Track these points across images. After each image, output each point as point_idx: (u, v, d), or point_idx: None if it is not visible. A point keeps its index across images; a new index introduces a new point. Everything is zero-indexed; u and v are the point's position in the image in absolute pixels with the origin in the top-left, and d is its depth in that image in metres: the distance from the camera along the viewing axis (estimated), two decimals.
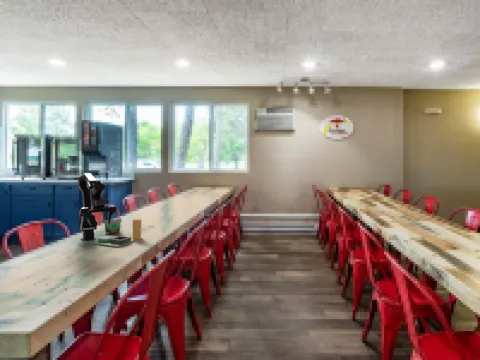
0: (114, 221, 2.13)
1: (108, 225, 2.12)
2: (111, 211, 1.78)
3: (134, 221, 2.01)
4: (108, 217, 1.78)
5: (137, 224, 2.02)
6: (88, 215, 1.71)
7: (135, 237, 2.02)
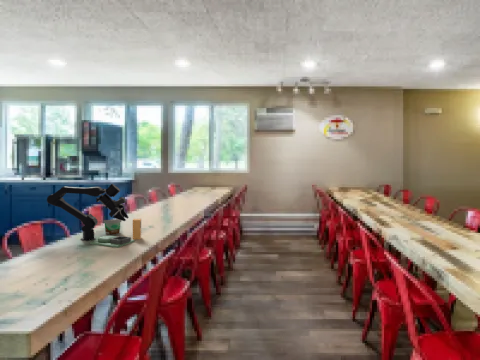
0: (114, 221, 2.13)
1: (108, 225, 2.12)
2: (124, 208, 2.08)
3: (134, 221, 2.01)
4: (123, 213, 2.07)
5: (137, 224, 2.02)
6: (120, 213, 1.96)
7: (135, 237, 2.02)
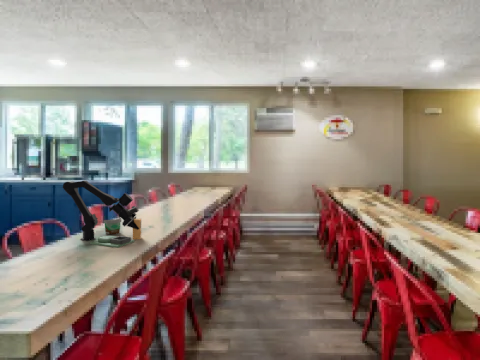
0: (114, 221, 2.13)
1: (108, 225, 2.12)
2: (135, 217, 2.07)
3: (134, 221, 2.01)
4: None
5: (137, 224, 2.02)
6: None
7: (135, 237, 2.02)
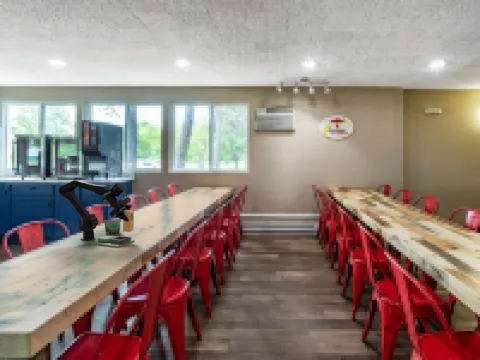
0: (114, 221, 2.13)
1: (108, 225, 2.12)
2: (129, 209, 1.99)
3: (124, 212, 1.93)
4: None
5: (128, 216, 1.93)
6: (123, 213, 1.92)
7: (125, 229, 1.94)
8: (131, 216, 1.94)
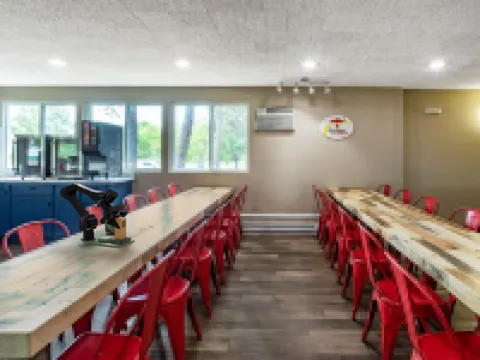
0: None
1: (108, 225, 2.12)
2: (123, 215, 1.94)
3: (116, 219, 1.89)
4: None
5: (119, 223, 1.88)
6: (114, 220, 1.87)
7: (117, 237, 1.89)
8: (122, 223, 1.89)
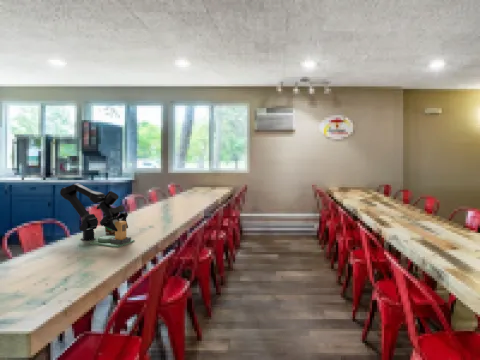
0: (114, 221, 2.13)
1: None
2: (125, 217, 1.96)
3: (116, 223, 1.89)
4: None
5: (119, 227, 1.88)
6: (112, 222, 1.85)
7: None
8: (123, 227, 1.89)
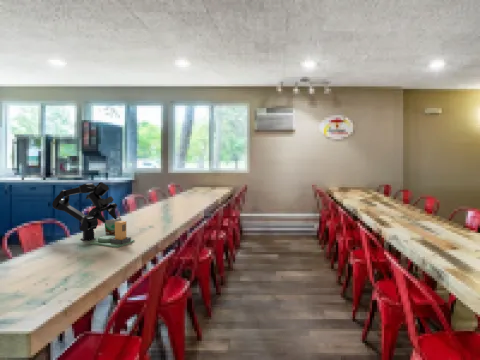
0: (114, 221, 2.13)
1: (108, 225, 2.12)
2: (114, 208, 2.00)
3: (116, 223, 1.89)
4: (112, 214, 1.99)
5: (119, 227, 1.88)
6: (100, 213, 1.89)
7: None
8: (123, 227, 1.89)
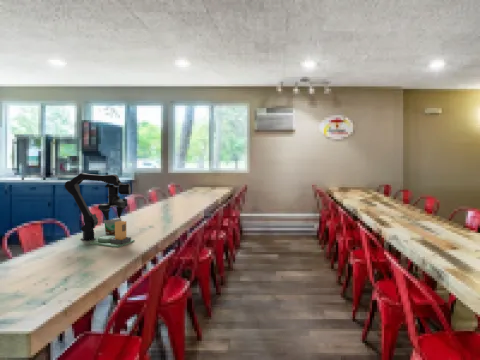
0: (114, 221, 2.13)
1: (108, 225, 2.12)
2: (123, 208, 2.04)
3: (116, 223, 1.89)
4: (119, 211, 2.04)
5: (119, 227, 1.88)
6: (107, 212, 1.94)
7: None
8: (123, 227, 1.89)
